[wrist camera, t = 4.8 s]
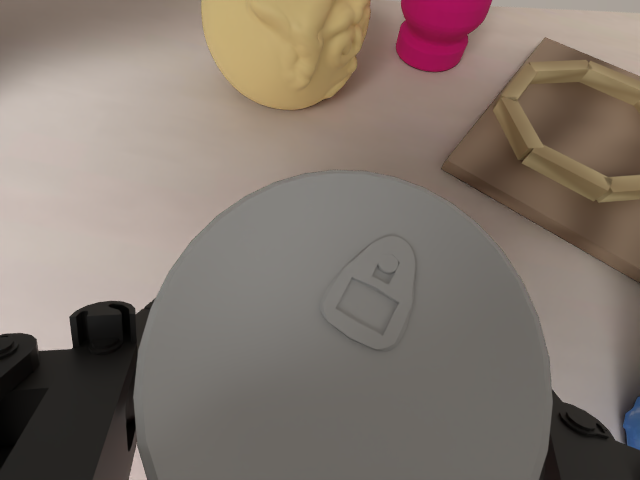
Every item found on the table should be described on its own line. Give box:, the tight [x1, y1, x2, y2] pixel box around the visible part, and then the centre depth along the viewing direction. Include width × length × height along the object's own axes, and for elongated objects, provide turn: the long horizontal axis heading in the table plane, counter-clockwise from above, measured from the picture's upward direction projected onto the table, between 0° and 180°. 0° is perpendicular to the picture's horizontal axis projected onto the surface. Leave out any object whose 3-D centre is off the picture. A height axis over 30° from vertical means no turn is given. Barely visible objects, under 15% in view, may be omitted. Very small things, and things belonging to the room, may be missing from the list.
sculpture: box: [201, 0, 371, 110], centre depth 23 cm, size 12×12×11 cm
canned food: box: [133, 170, 553, 480], centre depth 11 cm, size 8×8×11 cm
